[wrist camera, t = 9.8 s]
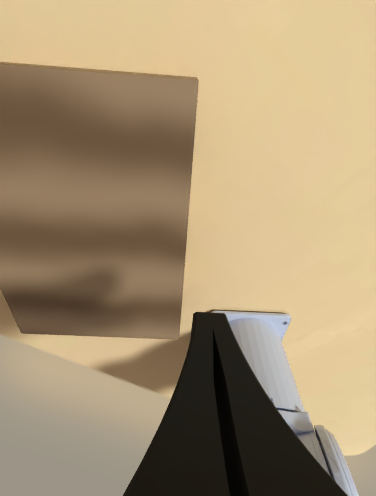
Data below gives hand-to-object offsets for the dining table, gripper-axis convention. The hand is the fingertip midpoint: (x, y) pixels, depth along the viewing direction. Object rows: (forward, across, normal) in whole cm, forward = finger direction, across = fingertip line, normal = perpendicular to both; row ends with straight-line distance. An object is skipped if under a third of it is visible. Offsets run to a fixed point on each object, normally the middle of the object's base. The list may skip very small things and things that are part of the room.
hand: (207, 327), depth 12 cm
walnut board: (+10, +8, +1) cm, 13 cm away
